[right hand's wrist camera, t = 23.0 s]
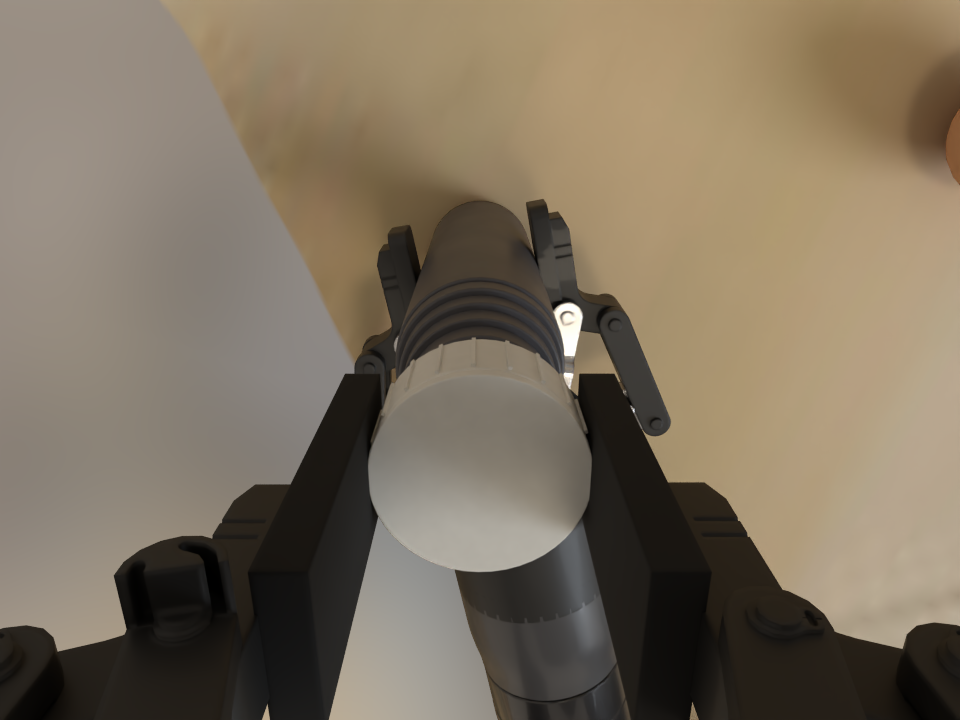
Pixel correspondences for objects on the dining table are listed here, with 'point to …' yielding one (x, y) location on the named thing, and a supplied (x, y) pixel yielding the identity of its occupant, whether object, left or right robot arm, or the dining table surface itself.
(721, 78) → the dining table surface
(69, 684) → the right robot arm
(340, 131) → the dining table surface
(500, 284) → the bottle
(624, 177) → the dining table surface
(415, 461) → the cap
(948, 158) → the egg
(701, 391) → the dining table surface
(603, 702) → the left robot arm
